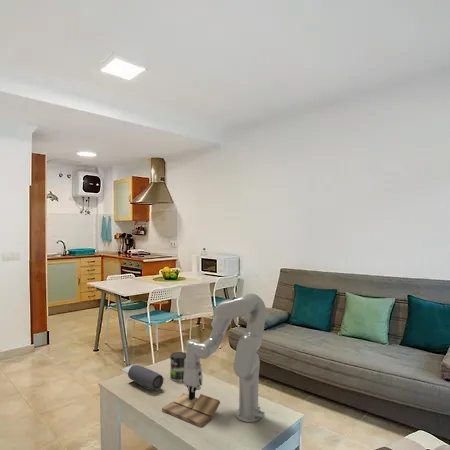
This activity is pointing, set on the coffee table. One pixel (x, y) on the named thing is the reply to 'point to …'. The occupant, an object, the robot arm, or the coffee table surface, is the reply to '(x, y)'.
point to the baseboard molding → (128, 369)
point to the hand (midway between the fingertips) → (191, 398)
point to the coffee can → (177, 366)
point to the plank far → (185, 401)
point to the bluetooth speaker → (145, 377)
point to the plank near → (206, 405)
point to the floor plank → (186, 414)
